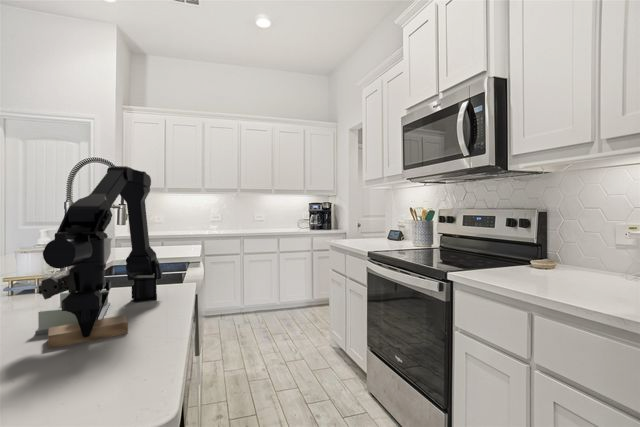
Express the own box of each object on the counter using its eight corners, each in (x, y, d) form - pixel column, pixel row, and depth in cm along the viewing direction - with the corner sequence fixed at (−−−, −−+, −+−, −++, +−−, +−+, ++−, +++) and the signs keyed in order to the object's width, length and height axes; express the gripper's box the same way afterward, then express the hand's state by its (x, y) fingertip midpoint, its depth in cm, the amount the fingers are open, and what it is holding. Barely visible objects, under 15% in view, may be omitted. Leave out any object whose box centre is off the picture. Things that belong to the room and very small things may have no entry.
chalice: (96, 289, 117) (96, 238, 117) (116, 289, 118) (116, 238, 118) (83, 294, 110) (83, 240, 110) (105, 294, 111) (105, 239, 110)
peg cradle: (110, 305, 98) (110, 288, 98) (99, 326, 80) (99, 305, 80) (59, 310, 93) (59, 292, 93) (35, 334, 75) (35, 312, 75)
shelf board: (123, 327, 81) (123, 315, 81) (127, 335, 76) (127, 321, 76) (48, 341, 72) (48, 327, 72) (48, 351, 67) (48, 336, 67)
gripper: (55, 257, 79) (55, 323, 79) (27, 270, 62) (27, 354, 62) (110, 254, 84) (111, 317, 84) (98, 266, 67) (99, 344, 67)
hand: (89, 331), depth 74 cm, fingers closed on shelf board, 7 cm apart
